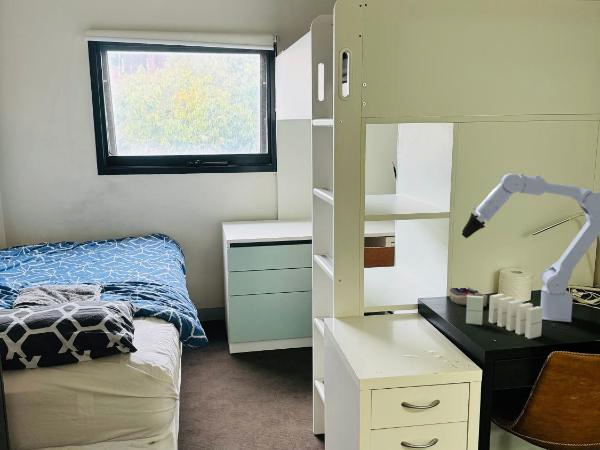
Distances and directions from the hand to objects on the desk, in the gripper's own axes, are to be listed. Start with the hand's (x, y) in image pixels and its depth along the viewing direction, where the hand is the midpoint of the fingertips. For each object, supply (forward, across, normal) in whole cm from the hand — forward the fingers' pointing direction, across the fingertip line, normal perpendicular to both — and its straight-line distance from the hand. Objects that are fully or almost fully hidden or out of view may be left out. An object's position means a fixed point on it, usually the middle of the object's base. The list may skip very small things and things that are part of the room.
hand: (464, 235), depth 185 cm
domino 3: (+13, +7, +28) cm, 32 cm away
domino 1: (+19, +8, +20) cm, 29 cm away
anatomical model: (+20, -14, +18) cm, 30 cm away
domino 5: (+10, +12, +32) cm, 36 cm away
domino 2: (+15, +5, +26) cm, 30 cm away
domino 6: (+9, +15, +34) cm, 39 cm away
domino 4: (+12, +10, +30) cm, 34 cm away
